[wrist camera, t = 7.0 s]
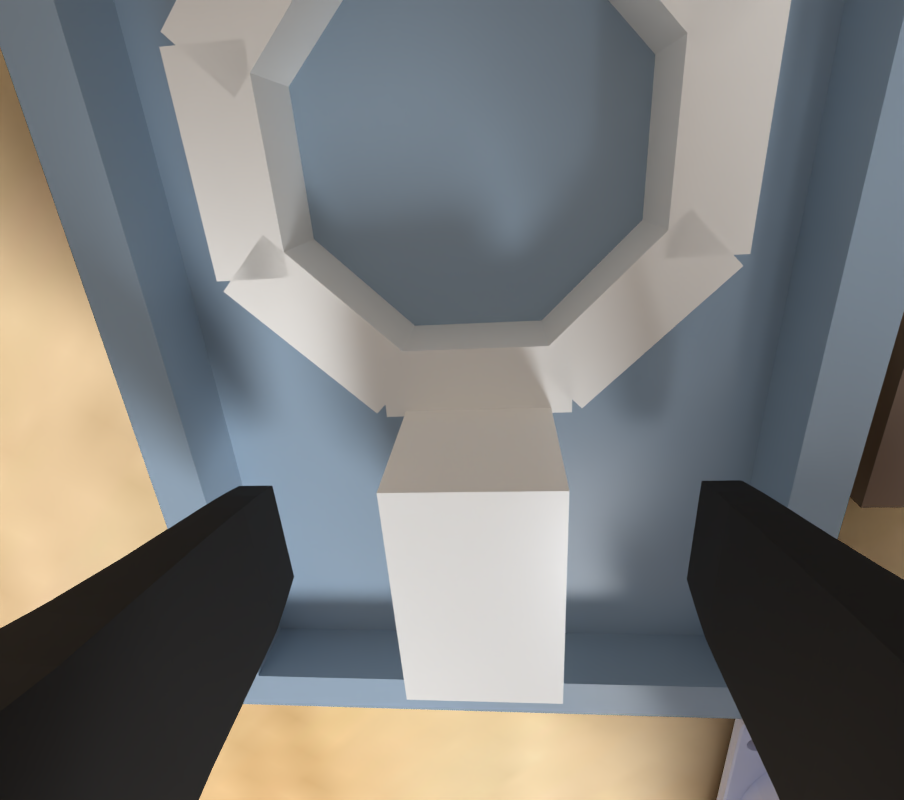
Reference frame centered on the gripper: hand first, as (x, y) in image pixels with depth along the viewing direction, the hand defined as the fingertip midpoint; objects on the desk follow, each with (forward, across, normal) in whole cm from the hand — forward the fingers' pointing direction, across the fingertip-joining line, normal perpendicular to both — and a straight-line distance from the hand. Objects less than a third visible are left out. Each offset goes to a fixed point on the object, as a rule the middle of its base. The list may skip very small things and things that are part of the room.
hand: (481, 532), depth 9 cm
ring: (+2, 0, -4) cm, 5 cm away
